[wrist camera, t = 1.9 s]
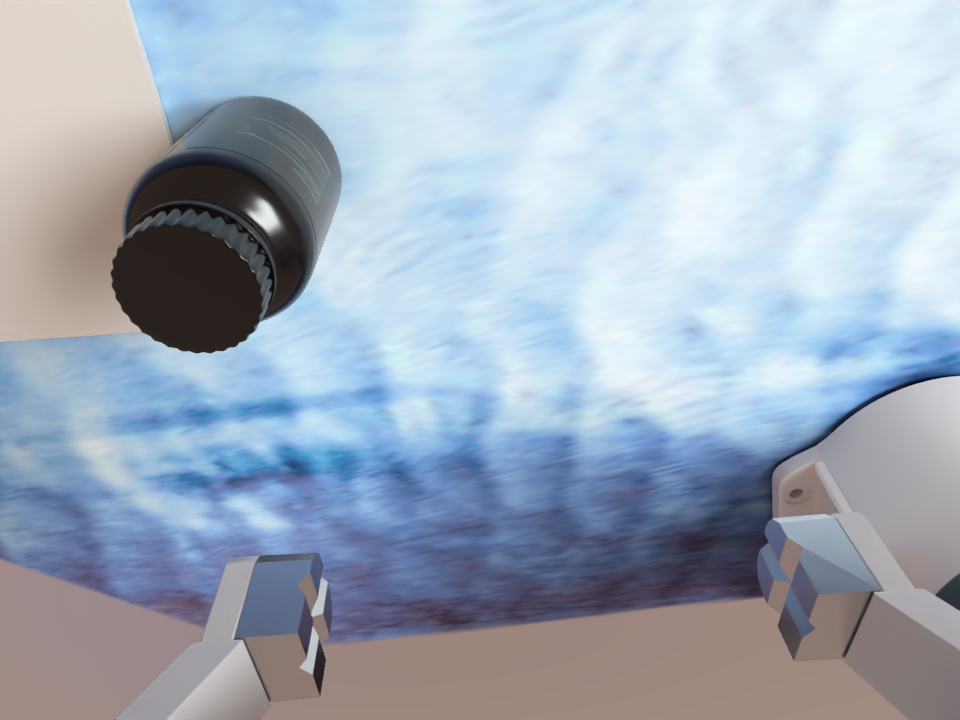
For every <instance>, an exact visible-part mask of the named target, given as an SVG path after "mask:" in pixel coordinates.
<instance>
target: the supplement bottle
mask: <svg viewBox="0 0 960 720" xmlns="http://www.w3.org/2000/svg"><path fill="white" fill-rule="evenodd" d="M340 192H341V169H340V164H339V160H338V157H337V154H336V152H335V149H334V147H333V145H332V143H331V142H330V140H329V138H328V137H327V135H326V134H325V133H324V131H323V130H322V129H321V128H320V127H319V125H318V124H317V123H316V122H315V121H314V120H312V119H311V118H310V117H309V116H308V115H306V114H305V113H303V112H302V111H301V110H299V109H297V108H295V107H294V106H291V105H289V104H287V103H285V102H282V101H279V100H275V99H271V98H266V97H243V98H238V99H234V100H231V101H228V102H226V103H224V104H222V105H220V106H218V107H217V108H215V109H214V110H212V111H211V112H210V113H208V114H207V115H206V116H205V117H204V118H202V119H201V120H200V121H199V122H198V123H197V124H196V125H194V126H193V127H192V128H191V129H190V130H189V131H188V132H187V133H185V134H184V135H183V136H182V137H181V138H180V139H179V140H178V141H177V142H175V143H174V144H173V145H172V146H171V147H170V148H169V149H168V150H166V151H165V152H164V153H163V154H162V155H161V156H160V157H159V158H157V159H156V160H155V161H154V162H153V163H152V164H151V165H150V166H148V167H147V168H146V169H145V170H144V171H143V173H142V174H141V175H140V176H139V177H138V178H137V180H136V181H135V182H134V184H133V185H132V187H131V189H130V191H129V193H128V195H127V198H126V200H125V203H124V208H123V213H122V233H123V242H122V243H121V244H120V245H119V246H118V248H117V254H116V255H115V256H114V258H113V260H112V264H113V268H112V270H111V272H110V274H111V277H112V279H113V282H112V285H111V286H112V288H113V290H114V291H115V299H116V300H117V301H118V303H119V304H120V305H121V309H122V311H123V312H124V313H125V314H126V315H127V316H128V317H129V319H130V321H131V322H132V323H133V324H135V325H136V326H138V327H139V328H140V330H141V331H142V332H143V333H145V334H147V335H150V336H151V337H152V338H153V339H154V340H155V341H158V342H162V343H163V344H165V345H166V346H168V347H172V348H177V349H179V350H181V351H191V352H194V353H201V352H206V353H213V352H215V351H224V350H226V349H227V348H229V347H236V346H237V345H238V344H239V342H243V341H245V340H247V339H248V337H249V335H250V334H251V333H253V332H254V331H255V330H256V329H257V327H258V324H259V322H261V321H264V320H267V319H269V318H271V317H274V316H276V315H278V314H279V313H281V312H283V311H284V310H286V309H287V308H288V307H289V306H291V305H292V304H293V303H294V302H295V301H296V300H297V299H298V298H299V296H300V295H301V294H302V292H303V291H304V289H305V288H306V286H307V284H308V282H309V280H310V278H311V276H312V273H313V271H314V268H315V265H316V263H317V260H318V257H319V254H320V252H321V249H322V246H323V243H324V241H325V238H326V235H327V232H328V230H329V227H330V224H331V221H332V219H333V216H334V213H335V210H336V207H337V204H338V201H339V197H340Z"/></svg>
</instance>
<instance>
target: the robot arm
mask: <svg viewBox="0 0 960 720" xmlns="http://www.w3.org/2000/svg"><path fill="white" fill-rule="evenodd" d="M772 514H773V518H772V519H771V520H770V521H769V522H768V523H767V525H766V529H765V532H764V534H765V536H766V538H767V540H768V542H769V543H767V544H766V545H765V546H764V547H763V548H761V549H760V550H759V555H758V560H757V573H758V580H759V584H760V587H761V591H762V593H763V595H764V597H765V600H766V602H767V604H769V605H770V606H771V607H773V608H774V609H775V610H777V611H778V612H779V613H781V617H780V620H779V623H778V628H779V630H780V632H781V634H782V636H783V639H784V641H785V643H786V645H787V647H788V649H789V652H790V654H791V656H792V658H793V660H794V661H807V660H829V659H845V660H844V662H845V663H846V664H847V665H849V667H851V668H852V669H853V670H854V671H855V672H856V673H857V674H858V675H859V676H861V677H862V678H863V679H864V680H865V681H866V682H867V683H868V684H870V685H871V686H872V687H873V688H874V689H875V690H876V691H877V692H879V693H880V694H881V695H882V696H883V697H884V698H885V699H886V700H887V701H888V702H890V703H891V704H892V705H893V706H894V707H895V708H896V709H897V710H898V711H900V712H901V713H902V714H903V715H904V716H905V717H906V718H907V719H908V720H960V376H953V377H945V378H938V379H933V380H929V381H925V382H921V383H917V384H914V385H911V386H908V387H905V388H903V389H900V390H898V391H895V392H893V393H891V394H888V395H886V396H884V397H882V398H880V399H878V400H876V401H874V402H873V403H871V404H869V405H868V406H866V407H864V408H863V409H861V410H860V411H858V412H857V413H855V414H854V415H853V416H851V417H850V418H849V419H847V420H846V421H845V422H844V423H842V424H841V425H840V426H839V427H838V428H837V429H836V430H835V431H833V432H832V433H831V434H830V435H829V436H828V437H827V438H825V439H824V440H823V441H822V442H820V443H819V444H817V445H816V446H814V447H812V448H810V449H808V450H806V451H803V452H801V453H799V454H797V455H795V456H793V457H792V458H790V459H788V460H786V461H785V462H783V463H782V464H780V465H779V466H778V467H777V468H776V469H775V470H774V472H773V475H772ZM322 570H323V564H322V561H321V558H320V555H319V553H308V554H287V555H266V556H251V557H234V558H231V559H230V560H229V562H228V563H227V564H226V566H225V568H224V571H223V574H222V577H221V580H220V584H219V587H218V590H217V593H216V596H215V599H214V602H213V605H212V608H211V611H210V614H209V617H208V620H207V623H206V626H205V629H204V633H203V636H202V639H201V642H198V643H191V644H190V645H189V646H188V647H187V648H186V649H185V650H184V651H183V652H182V653H181V654H180V655H179V656H178V657H177V658H176V659H175V660H174V661H173V662H172V663H171V664H170V665H169V666H168V667H167V668H166V669H165V670H164V671H163V672H162V673H161V674H160V675H159V676H158V677H157V678H156V679H155V680H154V681H153V682H152V683H151V684H150V685H149V686H148V687H147V688H146V689H145V690H144V691H143V692H142V693H141V694H140V695H139V696H138V697H137V698H136V699H135V700H134V701H133V702H132V703H131V704H130V705H129V706H128V707H127V708H126V709H125V710H124V711H123V712H122V713H121V714H120V715H119V716H118V717H117V718H116V719H115V720H260V719H261V718H262V716H263V715H264V714H265V712H266V711H267V709H268V708H269V707H270V702H274V701H284V700H294V699H304V698H313V697H320V694H321V688H322V681H323V675H324V669H325V662H326V659H325V656H324V652H323V649H322V646H321V645H322V644H323V643H324V642H325V641H326V640H327V638H328V637H329V636H330V629H331V621H332V600H331V592H330V588H329V584H328V582H327V581H326V580H324V579H323V578H321V576H322Z"/></svg>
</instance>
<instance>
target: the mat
mask: <svg viewBox="0 0 960 720" xmlns="http://www.w3.org/2000/svg"><path fill="white" fill-rule="evenodd" d="M173 144H174V142H173V138H172V135H171V132H170V129H169V126H168V122H167V119H166V116H165V113H164V110H163V106H162V103H161V100H160V97H159V94H158V90H157V87H156V84H155V81H154V78H153V74H152V71H151V68H150V65H149V62H148V58H147V55H146V52H145V49H144V46H143V42H142V39H141V36H140V33H139V30H138V26H137V23H136V20H135V17H134V14H133V10H132V7H131V4H130V1H129V0H0V342H9V341H23V340H37V339H52V338H66V337H80V336H95V335H109V334H123V333H137V332H142V331H141V330H140V328H139V327H138V326H136V325H135V324H133V323H132V322H131V321H130V319H129V317H128V316H127V315H126V314H125V313H124V312H123V311H122V309H121V305H120V304H119V303H118V301H117V300H116V299H115V291H114V290H113V288H112V286H111V285H112V282H113V279H112V277H111V274H110V272H111V270H112V268H113V264H112V260H113V258H114V256H115V255H116V254H117V248H118V246H119V245H120V244H121V243H122V242H123V233H122V213H123V208H124V203H125V200H126V198H127V195H128V193H129V191H130V189H131V187H132V185H133V184H134V182H135V181H136V180H137V178H138V177H139V176H140V175H141V174H142V173H143V171H144V170H145V169H146V168H147V167H148V166H150V165H151V164H152V163H153V162H154V161H155V160H156V159H157V158H159V157H160V156H161V155H162V154H163V153H164V152H165V151H166V150H168V149H169V148H170V147H171V146H172V145H173Z"/></svg>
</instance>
